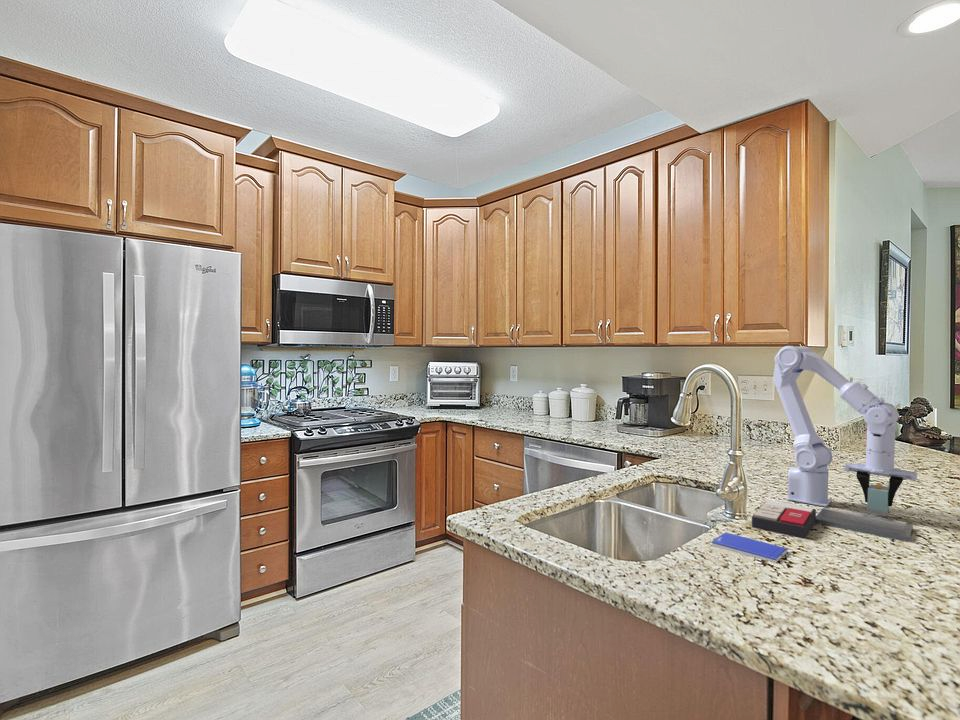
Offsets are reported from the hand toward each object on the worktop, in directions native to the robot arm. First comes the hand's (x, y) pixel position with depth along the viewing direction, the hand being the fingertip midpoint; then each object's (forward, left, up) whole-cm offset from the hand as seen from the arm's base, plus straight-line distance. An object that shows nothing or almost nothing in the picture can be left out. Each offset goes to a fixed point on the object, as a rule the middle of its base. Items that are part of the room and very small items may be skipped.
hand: (878, 503), depth 131 cm
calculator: (-16, -25, -4) cm, 30 cm away
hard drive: (-17, -48, -4) cm, 51 cm away
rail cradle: (-2, -12, -3) cm, 13 cm away
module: (0, 0, -2) cm, 2 cm away
